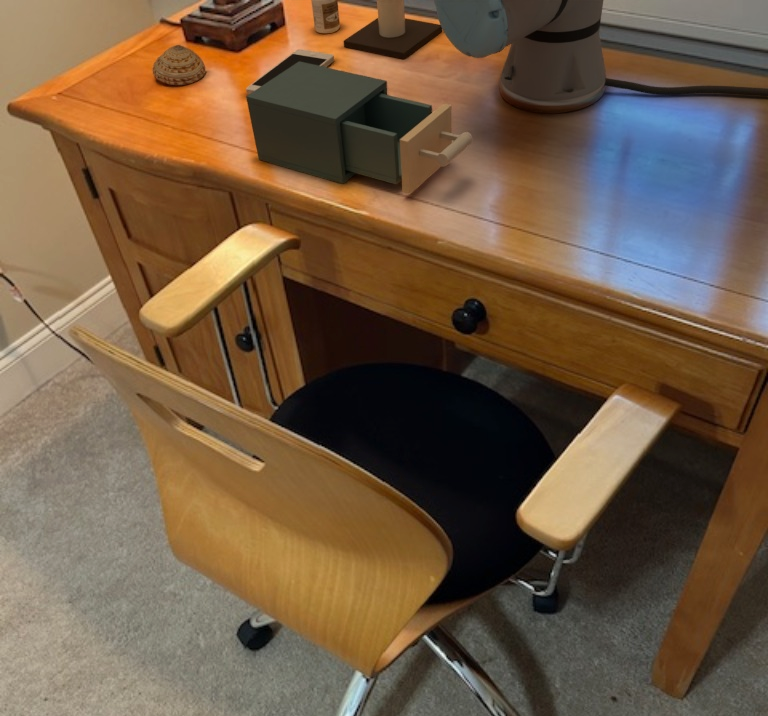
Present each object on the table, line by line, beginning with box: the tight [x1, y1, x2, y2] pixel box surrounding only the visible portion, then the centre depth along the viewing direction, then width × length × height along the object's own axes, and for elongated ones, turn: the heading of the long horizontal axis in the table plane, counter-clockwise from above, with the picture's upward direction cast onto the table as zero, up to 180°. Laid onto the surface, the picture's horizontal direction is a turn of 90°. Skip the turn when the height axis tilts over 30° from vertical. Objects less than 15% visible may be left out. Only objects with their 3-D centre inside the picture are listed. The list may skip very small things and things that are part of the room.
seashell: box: [152, 44, 206, 86], centre depth 129 cm, size 8×6×8 cm
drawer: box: [340, 93, 473, 195], centre depth 102 cm, size 18×10×7 cm, turn 56°
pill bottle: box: [310, 0, 341, 34], centre depth 134 cm, size 4×4×8 cm
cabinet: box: [245, 61, 389, 185], centre depth 107 cm, size 15×12×9 cm
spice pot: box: [376, 0, 406, 38], centre depth 128 cm, size 4×4×9 cm
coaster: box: [343, 17, 443, 60], centre depth 132 cm, size 12×12×1 cm
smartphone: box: [245, 48, 335, 95], centre depth 126 cm, size 7×15×1 cm, turn 151°
